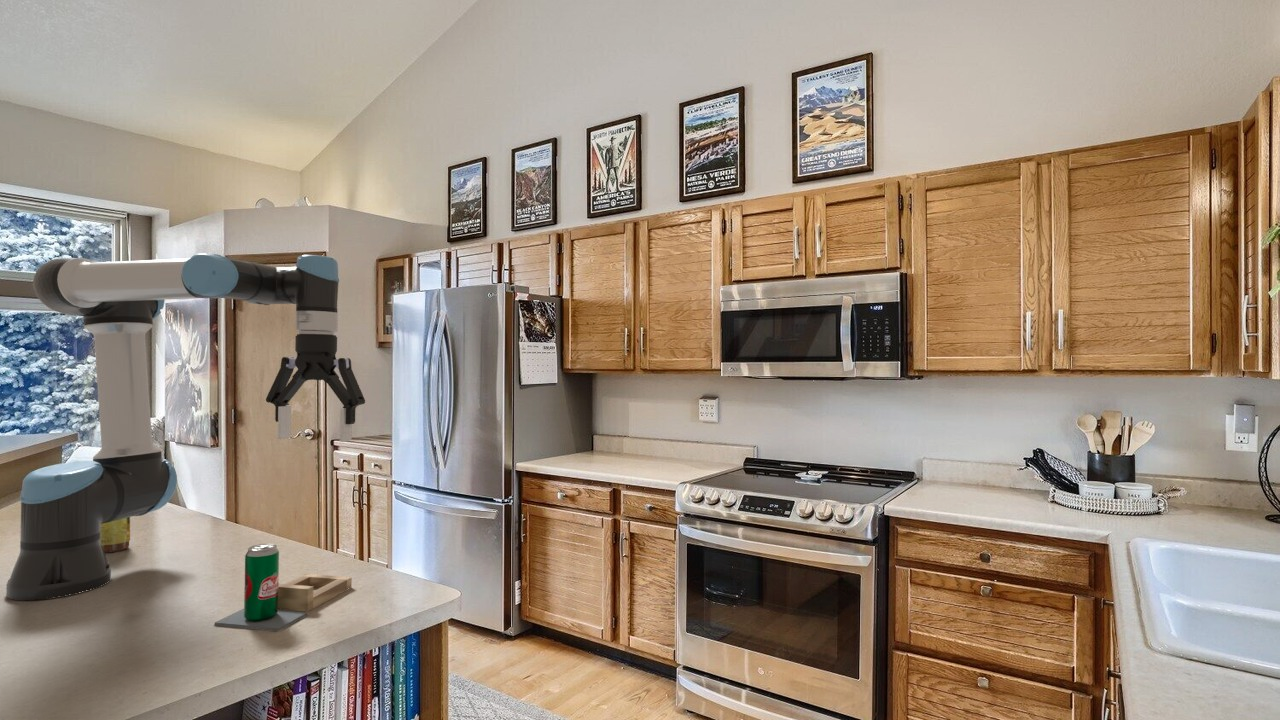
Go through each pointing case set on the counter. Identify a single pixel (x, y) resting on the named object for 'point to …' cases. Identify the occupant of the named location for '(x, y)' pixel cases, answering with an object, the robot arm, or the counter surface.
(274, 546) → the soda can
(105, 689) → the counter surface
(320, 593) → the oak frame
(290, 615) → the rubber mat
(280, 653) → the counter surface
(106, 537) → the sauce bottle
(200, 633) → the counter surface
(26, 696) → the counter surface
